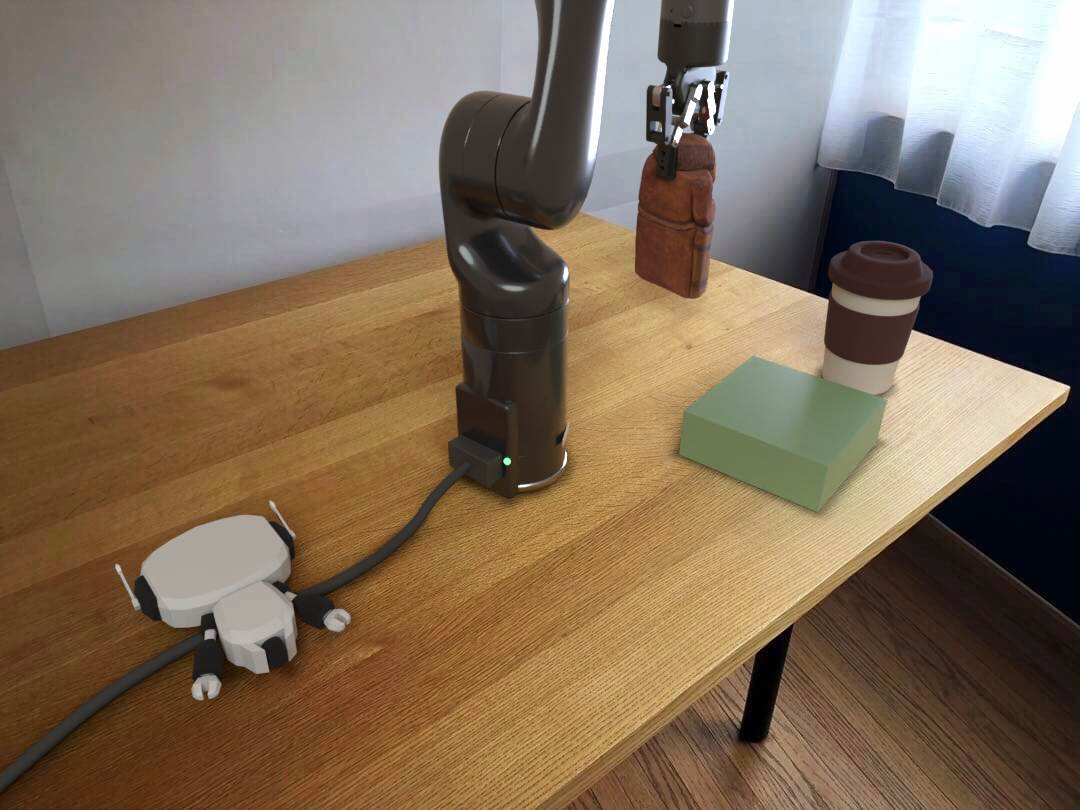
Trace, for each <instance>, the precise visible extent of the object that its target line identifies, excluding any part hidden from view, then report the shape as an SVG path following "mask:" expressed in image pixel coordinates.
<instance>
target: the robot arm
mask: <svg viewBox="0 0 1080 810" xmlns="http://www.w3.org/2000/svg"><path fill="white" fill-rule="evenodd" d="M615 5H616V0H534V6H535V11H536V18H537V53H536V55H537V56H536V65H535V66H536V67H535V74H534V82H533V88H532V93H531V96H524V95H520V94H519V95H518V94H512V93H507V92H501V91H496V90H495V91H494V90H476V91H473V92H470V93H468V94H466V95H464V96H462V97H461V98H460V99H459V100H458V101H457V102H456V103H455V104H454V105H453V107H452V108H451V109H450V111H449V113H448V115H447V117H446V120H445V122H444V125H443V129H442V132H441V136H440V142H439V150H438V181H439V192H440V202H441V209H442V220H443V227H444V237H445V246H446V247H445V248H446V254H447V255H446V256H447V260H448V264H449V267H450V270H451V273H452V275H453V276H454V278H455V280H456V283H457V287H458V303H459V304H458V305H459V322H460V346H461V367H462V381H461V382H459V383H458V384H456V385H455V390H454V391H455V406H456V424H457V425H456V426H457V436H455V437H454V438H453V439H451V440H449V441H448V442H447V453H448V465H449V467H451V468H453V470H452V471H451V472H450V473H449V474H448V475H447V476H445V477H444V479H443V480H442V481H441V482H439V484H438V485H436V487H434V488H433V490H432V491H431V492H430V493H429V494H428V496H427V497H426V498H425V500H424V501H423V502H422V504H421V506H420V507H419V509H418V511H417V512H416V513H415V515H414V516H413V517H412V519H411V520H410V521H409V522H408V523H407V524H406V525H405V526H404V527H403V528H402V529H401V530H400V531H399V532H398V533H397V534H396V535H394V537H392V538H391V539H390V540H389V541H388V542H387V543H386V544H384V545H383V546H382V547H380V548H379V549H377V550H376V551H375V552H374V553H372V554H371V555H369V556H368V557H366V558H364V559H363V560H361V561H359V562H358V563H356V564H354V565H352V566H351V567H349V568H347V569H345V570H343V571H341V572H340V573H338V574H336V575H335V576H332V577H331V578H328V579H327V580H324V581H322V582H320V583H317V584H315V585H312V586H310V587H307V588H304V589H302V590H299V591H297V592H294V593H293V592H292V593H293V594H295V595H301V594H306V593H313V592H314V593H316V594H318V595H320V596H324V595H326V594H328V593H330V592H332V591H335V590H336V589H338V588H340V587H342V586H344V585H346V584H348V583H349V582H351V581H353V580H355V579H356V578H358V577H360V576H361V575H363V574H365V573H366V572H368V571H370V570H372V569H373V568H374V567H376V566H377V565H379V564H381V563H382V562H383V561H385V560H386V559H387V558H388V557H390V556H391V555H392V554H393V553H395V552H396V551H397V550H399V548H401V547H402V545H404V544H405V543H406V542H407V541H408V540H409V539H410V538H412V536H413V535H414V534H415V533H416V532H417V531H418V530H419V528H421V526H422V525H423V524H424V522H425V521H426V519H427V518H428V516H429V515H430V513H431V512H432V510H433V509H434V507H435V506H436V504H437V503H438V502H439V501H440V499H442V497H443V496H444V495H445V494H446V493H447V492H448V491H449V490H450V489H451V488H452V487H453V486H454V485H455V484H456V483H457V482H459V480H461V479H462V478H463V477H466V478H467V479H469V480H471V481H473V482H474V483H477V484H479V485H480V486H482V487H484V488H487V489H489V490H491V491H493V492H495V493H497V494H498V495H500V496H502V497H505V498H506V499H512V498H513V497H514V496H516V495H518V494H521V493H523V494H524V493H532V492H535V491H538V490H542V489H545V488H548V487H549V486H551V485H552V484H554V483H556V482H557V481H558V480H560V478H561V477H562V476H563V475H564V473H565V471H566V470H567V469H566V468H567V457H568V454H567V449H566V448H567V437H568V434H569V430H570V421H568V422H567V413H568V412H567V410H568V408H567V407H568V373H569V371H568V368H569V366H568V365H569V364H568V363H569V330H570V329H569V328H570V288H571V287H570V286H571V277H570V276H571V275H570V270H569V267H568V264H567V262H566V261H565V259H564V258H563V257H562V256H561V254H559V253H558V252H557V251H556V250H554V249H553V248H552V247H550V246H549V245H548V244H547V243H546V242H544V240H542V239H541V238H540V237H539V235H538V234H537V233H536V232H535V231H534V229H538V230H543V231H544V230H545V231H557V230H561V229H564V228H565V227H566V226H568V225H569V224H571V222H573V220H574V219H576V217H577V215H578V214H579V213H580V211H581V209H582V207H583V205H584V203H585V201H586V199H587V197H588V194H589V191H590V189H591V185H592V182H593V177H594V173H595V168H596V164H597V163H596V162H597V156H598V150H599V142H600V134H601V126H602V125H601V124H602V117H603V115H602V114H603V106H604V95H605V86H606V78H607V77H606V76H607V68H608V67H607V66H608V59H609V58H608V57H609V49H610V42H611V41H610V40H611V31H612V25H613V19H614V11H615ZM734 6H735V0H661V2H660V15H659V27H658V28H659V29H658V40H657V41H658V42H657V53H656V54H657V55H656V56H657V60H658V61H659V62H661V63H662V64H665V66H666V72H665V75H664V79H663V81H662V84H660V85H654V84H649V85H648V86H647V88H646V101H645V102H646V105H645V106H646V107H645V109H646V111H645V112H646V113H645V140H646V142H649V143H654V144H655V145H656V146H658V153H657V166H656V177H657V178H658V179H662V180H666V181H671V180H674V179H675V178H676V171H677V160H678V149H679V147H677V146H678V143H679V140H680V137H681V134H682V133H683V131H684V130H685V129H687V128H688V127H690V131H691V133H692V134H696V135H699V136H702V137H704V138H705V139H707V140H708V141H709V142H710V135H712V134H713V133H714V131H715V126H716V127H720V126H721V125H722V123H723V117H724V113H725V105H726V98H727V93H728V87H729V81H730V71H727V70H720V69H716V67H719V66H722V65H724V64H725V63H726V62H727V61H728V59H729V52H730V51H729V50H730V41H731V33H732V24H733V16H734V15H733V14H734V8H735V7H734ZM657 123H658V125H657ZM672 126H673V130H672ZM656 128H657V129H656ZM533 228H534V229H533ZM216 639H219V636H218V637H216ZM204 640H205V638H203V637H202V635H201V634H200V632H198V633H196V634H194V635H192V636H190V637H188V638H187V639H184V640H182V641H181V642H179V643H177V644H175V645H173V646H171V647H169V648H168V649H166V650H164V651H162V652H161V653H159V654H157V655H155V656H154V657H152V658H150V659H149V660H147V661H145V662H144V663H142V664H140V665H138V666H137V667H136V668H134V669H133V670H131V671H130V672H128V673H126V674H125V675H123V676H121V677H120V678H118V679H117V680H116V681H114V682H112V683H111V684H110V685H109V686H107V687H106V688H104V689H103V690H101V691H100V692H98V693H97V694H96V695H94V696H92V697H91V698H90V699H89V700H87V701H85V703H83V704H82V705H80V706H79V707H78V708H77V709H75V710H74V711H73V712H72V713H70V714H69V715H68V716H67V717H66V718H64V719H63V720H62V721H61V722H59V723H58V724H57V725H56V726H54V727H53V728H52V729H51V730H49V731H48V732H47V733H46V734H45V735H44V736H43V737H41V738H40V739H39V740H38V741H37V742H35V743H34V744H33V745H31V747H30V748H28V749H27V750H26V751H25V752H24V753H23V754H21V755H20V756H19V757H18V758H16V759H15V760H14V761H13V762H12V763H11V764H9V765H8V766H7V767H6V768H5V769H4V770H2V771H1V772H0V794H2V793H3V791H5V790H6V789H7V788H8V787H9V786H11V785H12V784H13V783H14V782H15V781H16V780H17V779H19V778H20V777H21V776H22V775H23V774H25V772H27V771H28V770H29V769H30V768H31V767H32V766H34V765H35V764H36V763H37V762H38V761H40V760H41V759H43V757H44V756H46V754H48V753H49V752H50V751H51V750H52V749H53V748H55V747H56V746H57V745H58V744H59V743H60V742H61V741H63V740H64V739H65V738H66V737H68V736H69V735H70V734H71V733H72V732H73V731H75V730H76V729H77V728H79V727H80V726H81V725H82V724H83V723H85V722H86V721H87V720H89V718H91V717H92V716H93V715H94V714H96V713H97V712H98V711H100V710H101V709H102V708H104V707H105V706H107V705H108V704H109V703H111V702H112V701H113V700H115V699H116V698H117V697H119V696H121V695H122V694H124V693H125V692H126V691H128V690H130V689H131V688H132V687H134V686H136V685H137V684H138V683H140V682H142V681H143V680H144V679H146V678H147V677H149V676H151V675H153V674H154V673H156V672H157V671H159V670H161V669H163V668H164V667H166V666H167V665H170V664H171V663H173V662H174V661H176V660H177V659H180V658H181V657H183V656H185V655H187V654H189V653H191V652H192V651H195V650H196V648H197V647H198V646H199V645H200V644H201V643H202V642H203V641H204Z"/></svg>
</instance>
